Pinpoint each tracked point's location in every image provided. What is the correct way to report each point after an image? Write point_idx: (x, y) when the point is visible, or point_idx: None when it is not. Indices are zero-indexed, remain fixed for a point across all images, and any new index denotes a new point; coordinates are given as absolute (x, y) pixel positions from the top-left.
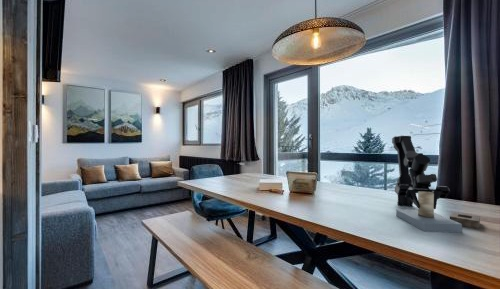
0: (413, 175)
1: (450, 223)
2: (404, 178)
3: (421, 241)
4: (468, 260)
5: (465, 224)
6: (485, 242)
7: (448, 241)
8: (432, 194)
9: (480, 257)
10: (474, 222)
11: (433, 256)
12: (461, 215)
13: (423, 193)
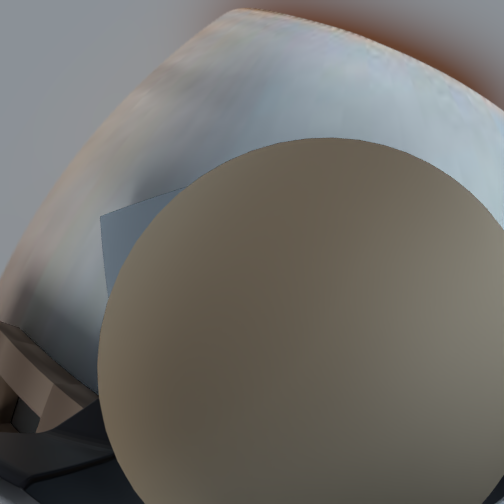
0: None
1: (165, 202)
2: None
3: (351, 86)
4: (251, 29)
5: (46, 358)
6: (106, 144)
7: (252, 104)
8: (203, 192)
9: (211, 44)
10: (7, 331)
11: (327, 30)
12: None
13: (440, 171)
